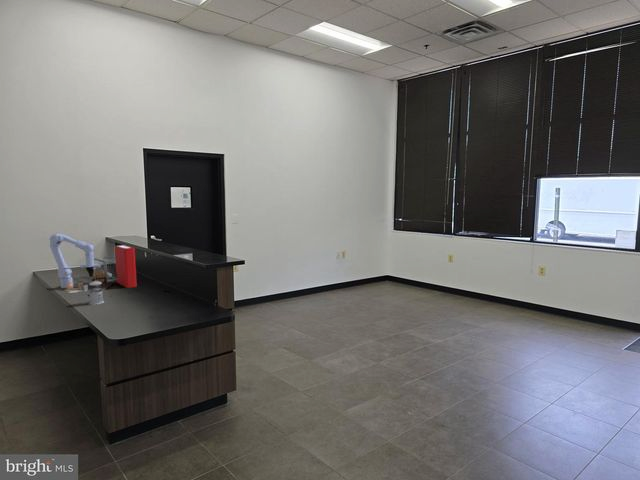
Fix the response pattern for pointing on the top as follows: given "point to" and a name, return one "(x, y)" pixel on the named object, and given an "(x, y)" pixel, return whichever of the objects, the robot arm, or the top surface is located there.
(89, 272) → the robot arm
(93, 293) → the french press
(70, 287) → the canister
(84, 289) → the pale blue block
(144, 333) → the top surface
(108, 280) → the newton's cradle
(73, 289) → the tan notched piece
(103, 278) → the cigar case
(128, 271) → the book
